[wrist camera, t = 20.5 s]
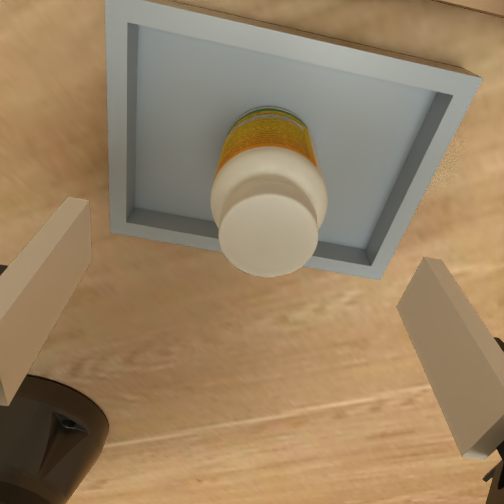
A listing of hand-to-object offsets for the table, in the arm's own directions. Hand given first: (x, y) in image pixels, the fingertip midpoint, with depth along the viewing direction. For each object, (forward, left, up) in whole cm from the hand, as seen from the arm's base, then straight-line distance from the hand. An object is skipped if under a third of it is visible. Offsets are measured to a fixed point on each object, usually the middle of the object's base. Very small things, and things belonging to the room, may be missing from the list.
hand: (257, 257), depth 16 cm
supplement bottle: (0, +1, -10) cm, 10 cm away
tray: (0, 0, -11) cm, 11 cm away
